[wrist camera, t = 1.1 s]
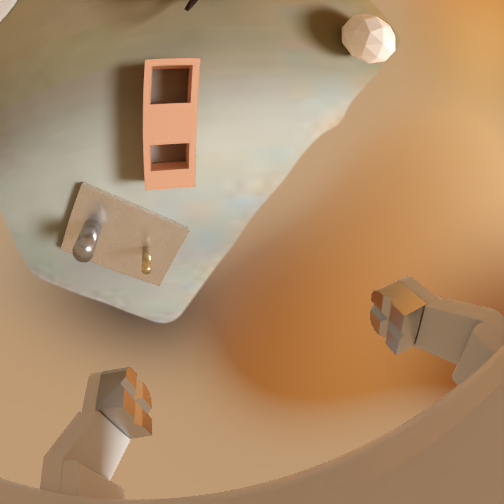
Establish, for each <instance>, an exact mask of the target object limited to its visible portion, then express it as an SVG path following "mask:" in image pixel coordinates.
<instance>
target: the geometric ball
mask: <svg viewBox="0 0 504 504" xmlns="http://www.w3.org/2000/svg"><path fill="white" fill-rule="evenodd" d="M342 43H343V45H344V46H345V47H346V48H347V50H348V51H349V52H350V54H351V55H352V56H353V57H356V58H358V59H360V60H363V61H365V62H367V63H374V62H382V61H386V60H387V59H388V58H389V57H390V56H391V54H392V53H393V52H394V51H395V35H394V33H393V31H392V29H391V27H390V26H389V25H388V24H387V23H385V22H384V21H382V20H381V19H380V18H378V17H377V16H371V15H366V14H359V15H356V16H353V17H351V18H350V19H349V20H348V21H347V22H346V23H345V25H344V26H343V27H342Z"/></svg>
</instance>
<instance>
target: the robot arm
mask: <svg viewBox="0 0 504 504" xmlns="http://www.w3.org/2000/svg"><path fill="white" fill-rule="evenodd" d="M16 2H17V0H0V22H1V21H2V19H3V18H4V17H5V16H6V15H7V14H8V12H9V11H10V10H11V9H12V7H13V6H14V5H15V3H16ZM371 301H372V302H373V303H374V306H373V307H372V309H371V310H370V320H371V324H372V326H373V328H374V330H375V331H376V332H377V334H378V335H380V336H383V337H386V344H387V345H388V347H389V348H390V349H391V350H392V351H393V353H394V354H395V355H397V354H399V353H401V352H403V351H405V350H407V349H409V348H411V347H412V346H414V345H415V347H418V348H420V349H422V350H424V351H427V352H429V353H431V354H434V355H436V356H438V357H441V358H443V359H445V360H448V361H450V362H452V363H455V364H457V367H456V368H455V371H454V372H453V375H452V379H453V380H454V381H455V382H456V383H457V385H458V386H457V387H456V388H454V389H453V390H452V391H450V392H449V393H448V394H447V395H445V396H444V397H443V398H441V399H440V400H438V401H437V402H436V403H434V404H433V405H431V406H430V407H429V408H427V409H425V410H424V411H423V412H421V413H419V414H418V415H417V416H415V417H413V418H412V419H410V420H408V421H407V422H405V423H404V424H402V425H400V426H399V427H397V428H395V429H393V430H392V431H390V432H388V433H386V434H385V435H383V436H381V437H379V438H377V439H375V440H373V441H371V442H369V443H368V444H365V445H363V446H361V447H359V448H357V449H355V450H353V451H351V452H349V453H346V454H344V455H342V456H340V457H338V458H335V459H333V460H330V461H328V462H325V463H323V464H320V465H317V466H315V467H312V468H309V469H307V470H304V471H301V472H298V473H295V474H292V475H289V476H286V477H282V478H279V479H276V480H272V481H269V482H265V483H261V484H257V485H253V486H249V487H245V488H240V489H235V490H230V491H225V492H219V493H213V494H206V495H199V496H191V497H182V498H170V499H149V500H125V499H124V490H123V488H122V487H121V486H119V485H117V484H115V483H113V482H111V481H110V479H111V477H112V475H113V473H114V471H115V469H116V467H117V465H118V463H119V461H120V459H121V457H122V455H123V453H124V451H125V450H126V447H127V446H128V444H129V442H130V438H137V437H144V436H151V435H152V419H151V418H150V416H149V415H148V412H149V411H150V409H151V408H152V406H151V398H150V394H149V391H148V389H147V387H146V386H145V384H144V383H143V382H141V381H139V380H137V374H136V372H135V371H134V370H133V369H132V368H130V367H127V368H122V369H116V370H110V371H103V372H98V373H92V374H91V375H90V376H89V379H88V383H87V388H86V393H85V398H84V403H83V408H82V412H78V414H77V415H76V416H75V417H74V419H73V420H72V421H71V422H70V424H69V425H68V426H67V428H66V429H65V430H64V432H63V433H62V434H61V435H60V437H59V438H58V439H57V440H56V442H55V443H54V444H53V446H52V447H51V448H50V450H49V451H48V452H47V453H46V455H45V456H44V460H43V468H42V476H41V486H40V489H38V488H33V487H29V486H26V485H22V484H18V483H15V482H11V481H8V480H5V479H2V478H0V504H504V317H503V316H502V315H501V314H500V313H499V312H498V311H497V310H495V309H492V308H487V307H483V306H479V305H474V304H470V303H466V302H462V301H458V300H453V299H449V298H445V297H440V298H438V297H436V296H435V295H434V294H433V293H431V292H430V291H429V290H428V289H427V288H425V287H424V286H423V285H421V284H420V283H419V282H418V281H417V280H415V279H414V278H413V277H411V276H408V275H407V276H405V277H403V278H401V279H398V280H397V281H394V282H392V283H390V284H388V285H385V286H383V287H381V288H379V289H377V290H374V291H373V293H372V295H371Z"/></svg>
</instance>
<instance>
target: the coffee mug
mask: <svg viewBox="0 0 504 504" xmlns="http://www.w3.org/2000/svg"><path fill="white" fill-rule="evenodd" d="M197 1H198V0H189V2H188V4H187V5H186V7H185V10H187V11H189V10H190V9H191V8H192V7H193V5H194V4H195V3H196V2H197Z"/></svg>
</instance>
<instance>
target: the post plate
mask: <svg viewBox="0 0 504 504" xmlns="http://www.w3.org/2000/svg"><path fill="white" fill-rule="evenodd" d="M188 233H189V228H188V227H187V226H184V225H182V224H180V223H177V222H175V221H173V220H171V219H168V218H166V217H164V216H161V215H159V214H157V213H154V212H152V211H150V210H147V209H145V208H143V207H140V206H138V205H136V204H133V203H131V202H129V201H127V200H124V199H122V198H120V197H117V196H115V195H113V194H110V193H108V192H106V191H103V190H101V189H99V188H97V187H94V186H92V185H90V184H87V183H85V182H83V183H82V184H81V187H80V190H79V192H78V195H77V198H76V201H75V204H74V207H73V210H72V213H71V216H70V219H69V222H68V225H67V229H66V232H65V235H64V239H63V243H62V246H61V250H64V251H66V252H69V253H71V254H73V256H74V257H75V259H76V260H78V261H80V262H88V261H91V262H94V263H97V264H99V265H102V266H105V267H107V268H110V269H113V270H115V271H118V272H121V273H124V274H126V275H129V276H132V277H135V278H138V279H140V280H143V281H146V282H149V283H152V284H155V285H158V286H160V284H161V282H162V280H163V278H164V276H165V274H166V272H167V271H168V269H169V267H170V265H171V263H172V261H173V259H174V258H175V256H176V254H177V252H178V250H179V249H180V247H181V245H182V243H183V241H184V240H185V238H186V236H187V234H188Z"/></svg>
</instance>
